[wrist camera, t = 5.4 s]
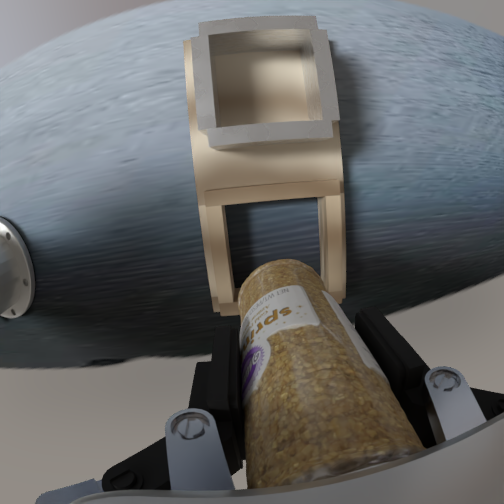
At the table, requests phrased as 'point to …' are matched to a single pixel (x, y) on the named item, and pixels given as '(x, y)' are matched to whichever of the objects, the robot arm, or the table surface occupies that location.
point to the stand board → (264, 164)
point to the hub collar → (258, 40)
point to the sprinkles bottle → (310, 384)
